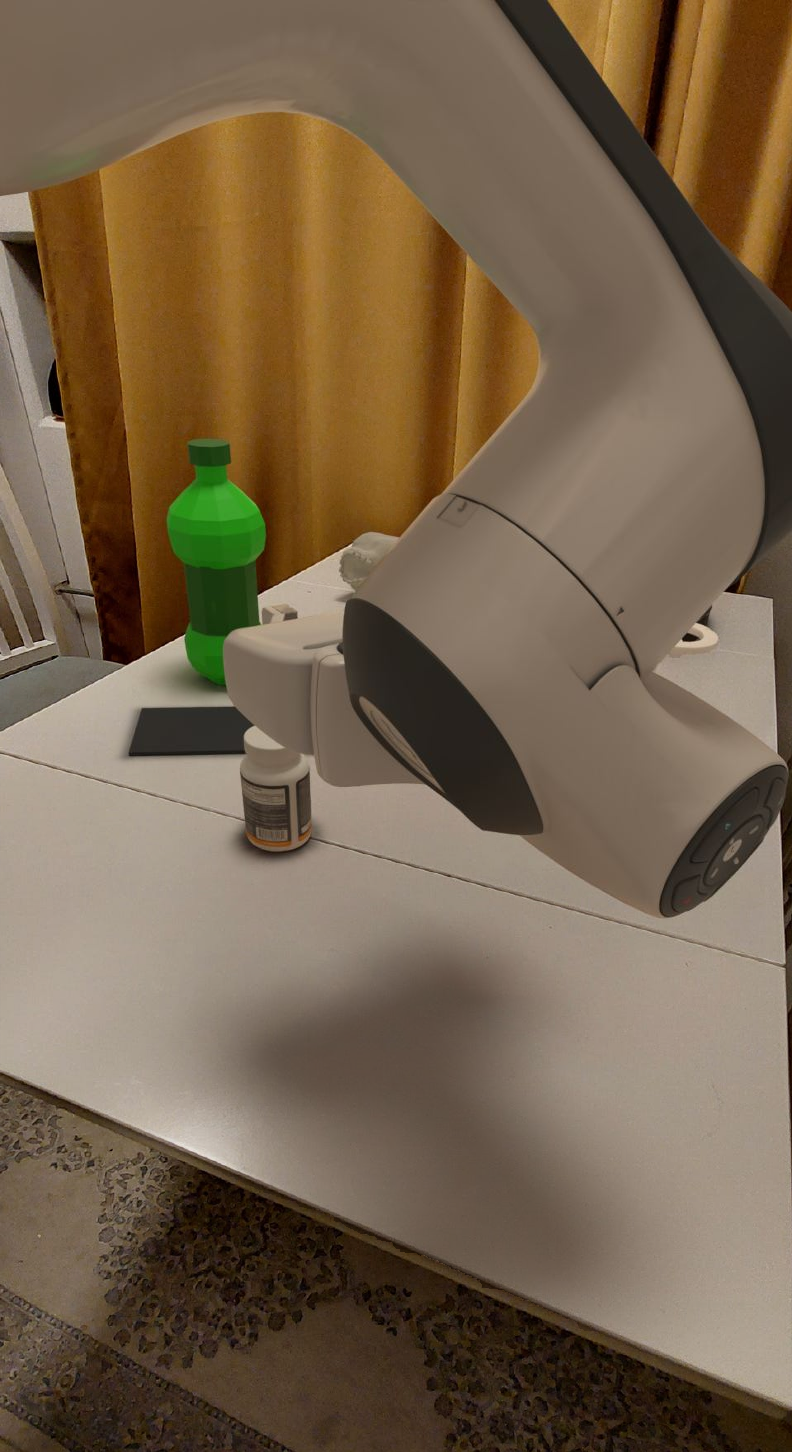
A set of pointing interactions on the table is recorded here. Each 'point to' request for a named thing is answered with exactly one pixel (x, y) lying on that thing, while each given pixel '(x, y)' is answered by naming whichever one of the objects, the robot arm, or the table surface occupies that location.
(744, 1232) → the table surface
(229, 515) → the plastic bottle
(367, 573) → the white lumpy rounded piece
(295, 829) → the pill bottle
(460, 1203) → the table surface
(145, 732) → the slate mat
